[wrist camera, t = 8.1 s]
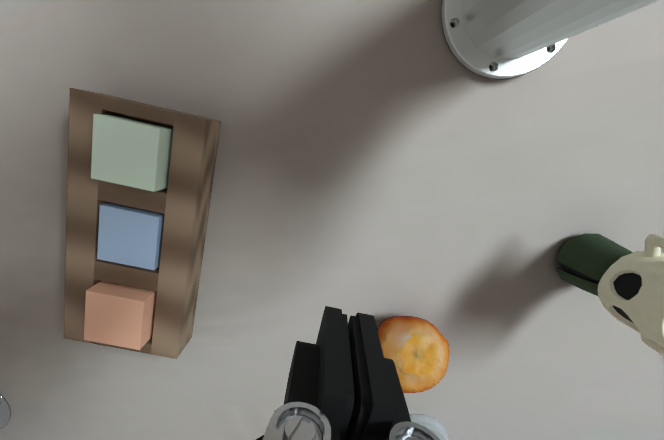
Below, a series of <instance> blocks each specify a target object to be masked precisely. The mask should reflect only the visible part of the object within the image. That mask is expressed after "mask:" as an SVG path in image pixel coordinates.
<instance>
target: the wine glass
mask: <svg viewBox="0 0 664 440" xmlns="http://www.w3.org/2000/svg"><path fill="white" fill-rule="evenodd" d="M10 415H11V414H10V407H9V405H8V403H7V402H6V400H5V399H4V398H3V397H2V396H1V395H0V428H3V427H4V426H5V425H6V424H7V423H8V421H9V419H10Z"/></svg>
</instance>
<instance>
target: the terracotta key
mask: <svg viewBox="0 0 664 440" xmlns="http://www.w3.org/2000/svg"><path fill="white" fill-rule="evenodd" d="M156 296H157V291H152V290H147V289H142V288H137V287H132V286H127V285H121V284H116V283H111V282H106V281H100V282H99V283H97V284H96V285H94V286H92V287H91V288H89V289H88V290H86V302H85V325H84V340H87V341H93V342H98V343H104V344H109V345H115V346H120V347H125V348H131V349H136V350H140V349H141V348H142V347H143V346H144V345H145V344H146V343H147V341H148V340H149V339H150V338H151V337H152V336H153V326H154V316H155V306H156Z"/></svg>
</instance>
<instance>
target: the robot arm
mask: <svg viewBox="0 0 664 440" xmlns="http://www.w3.org/2000/svg"><path fill="white" fill-rule="evenodd" d="M657 1H659V0H443V2H442V11H441V12H442V26H443V30H444V34H445V38H446V40H447V42H448V45H449V47H450V49H451V51H452V52H453V54H454V55H455V56H456V58H457V59H458V60H459V61H460V62H461V63H462V64H463V65H464V66H465V67H466V68H467V69H469V70H471V71H473V72H474V73H476V74H478V75H481V76H484V77H488V78H495V79H505V78H513V77H517V76H520V75H524V74H526V73H528V72H531V71H533V70H535V69H537V68H539V67H540V66H542V65H543V64H545V63H546V62H548V61H549V60H550V59H551V58H552V57H553V56H555V55H556V54H557V53H558V52H559V50H560V49H561V48H562V46H563V45H564V44H565V43H566V41H567V40H568V38H570V37H572V36H575V35H577V34H580V33H582V32H585V31H587V30H589V29H592V28H594V27H597V26H599V25H601V24H604V23H606V22H609V21H611V20H613V19H616V18H618V17H621V16H623V15H626V14H628V13H630V12H633V11H635V10H638V9H640V8H642V7H645V6H647V5H650V4H652V3H655V2H657ZM450 23H452V24H453V25H454V27H453V28H452V27H451V25H450ZM546 48H547V50H546ZM489 66H490V67H491V71H490V70H489ZM256 440H440V439H439V438H438V437H437V436H436V435H435V434H434V433H433V432H432V431H430V430H429V429H427V428H426V427H424V426H422V425H420V424H417V423H414V422H411V419H410V415H409V412H408V408H407V405H406V401H405V398H404V394H403V391H402V387H401V384H400V380H399V377H398V373H397V370H396V366H395V363H394V361H393V360H392V359H388V358H384V355H383V351H382V347H381V343H380V339H379V335H378V331H377V327H376V323H375V319H374V316H372V315H367V314H362V313H357V314H356V316H351V317H350V319H349V323H348V322H347V315H346V314H342V310H341V309H337V308H332V307H327V306H326V307H325V310H324V314H323V318H322V322H321V326H320V330H319V334H318V338H317V342H316V344H310V343H305V342H300V341H297V342H296V346H295V350H294V355H293V359H292V363H291V368H290V373H289V378H288V383H287V389H286V394H285V400H284V405H282V406H281V407H279V408H278V409H277V410H276V411H275V412H274V414H273V415H272V417H271V419H270V422H269V424H268V427H267V429H266V432H265V434H264V435H263V436H261V437H260V438H258V439H256Z"/></svg>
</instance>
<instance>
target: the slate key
mask: <svg viewBox="0 0 664 440" xmlns="http://www.w3.org/2000/svg"><path fill="white" fill-rule="evenodd" d="M164 217H165V214H163V213H158V212H153V211H149V210H144V209H139V208H134V207H130V206H125V205H120V204H115V203H111V202H109V203H105V204H102V205H100V212H99V232H98V252H97V259H100V260H105V261H110V262H115V263H120V264H125V265H130V266H135V267H140V268H145V269H150V270H155V269H156V268H158V267H159V266H160V257H161V247H162V237H163V227H164Z"/></svg>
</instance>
